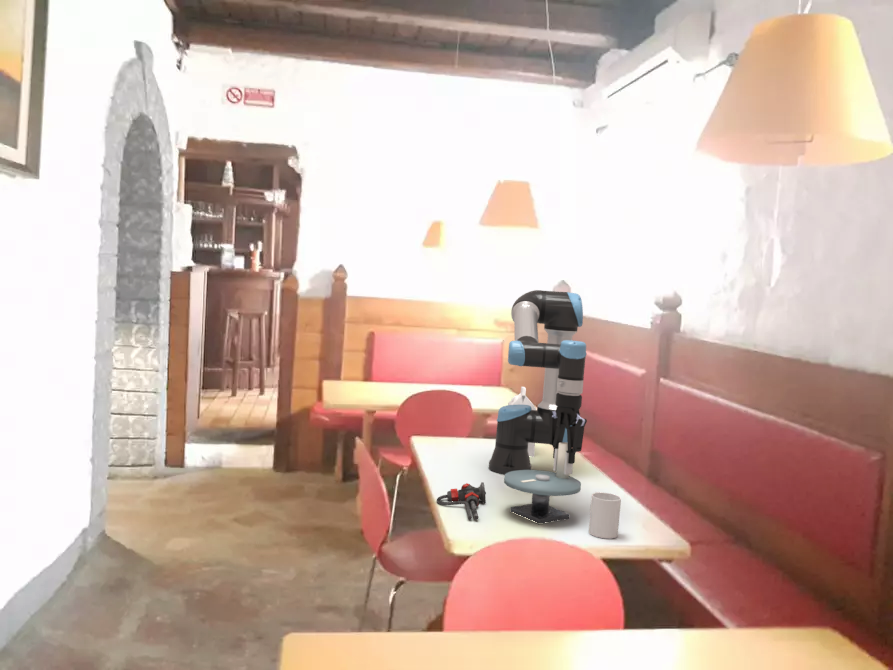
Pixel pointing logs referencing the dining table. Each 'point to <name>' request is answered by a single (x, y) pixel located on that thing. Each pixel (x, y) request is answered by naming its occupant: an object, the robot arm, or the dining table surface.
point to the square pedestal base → (540, 510)
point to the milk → (524, 400)
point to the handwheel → (545, 479)
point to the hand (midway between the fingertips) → (562, 471)
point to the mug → (604, 515)
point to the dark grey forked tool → (466, 498)
